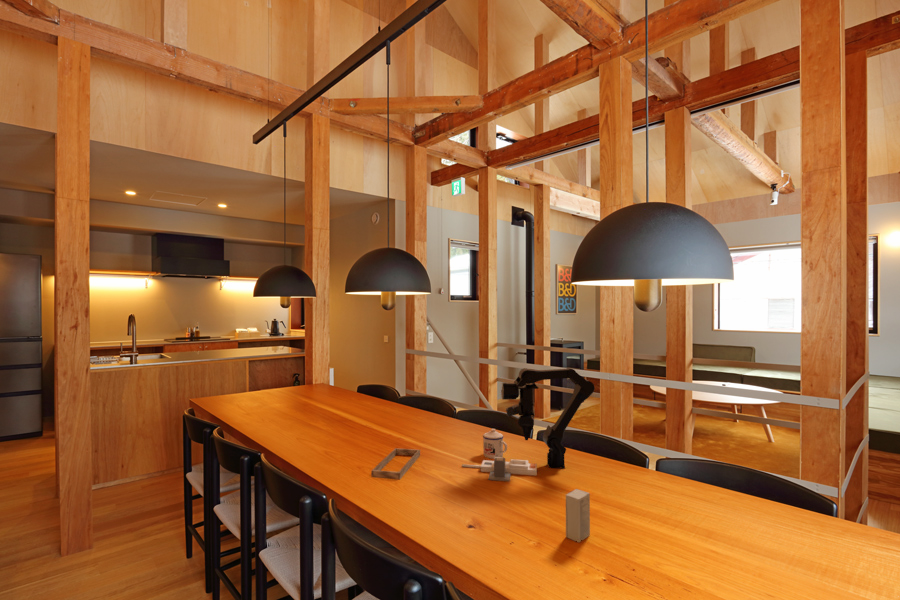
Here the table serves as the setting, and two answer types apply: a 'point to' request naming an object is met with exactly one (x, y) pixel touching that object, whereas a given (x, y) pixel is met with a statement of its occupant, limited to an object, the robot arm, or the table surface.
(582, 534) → the skincare box
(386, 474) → the wooden frame
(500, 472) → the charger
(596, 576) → the table surface
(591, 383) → the robot arm
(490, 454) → the teacup with lid
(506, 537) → the table surface
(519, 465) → the power strip
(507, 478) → the coaster
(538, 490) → the table surface
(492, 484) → the table surface
